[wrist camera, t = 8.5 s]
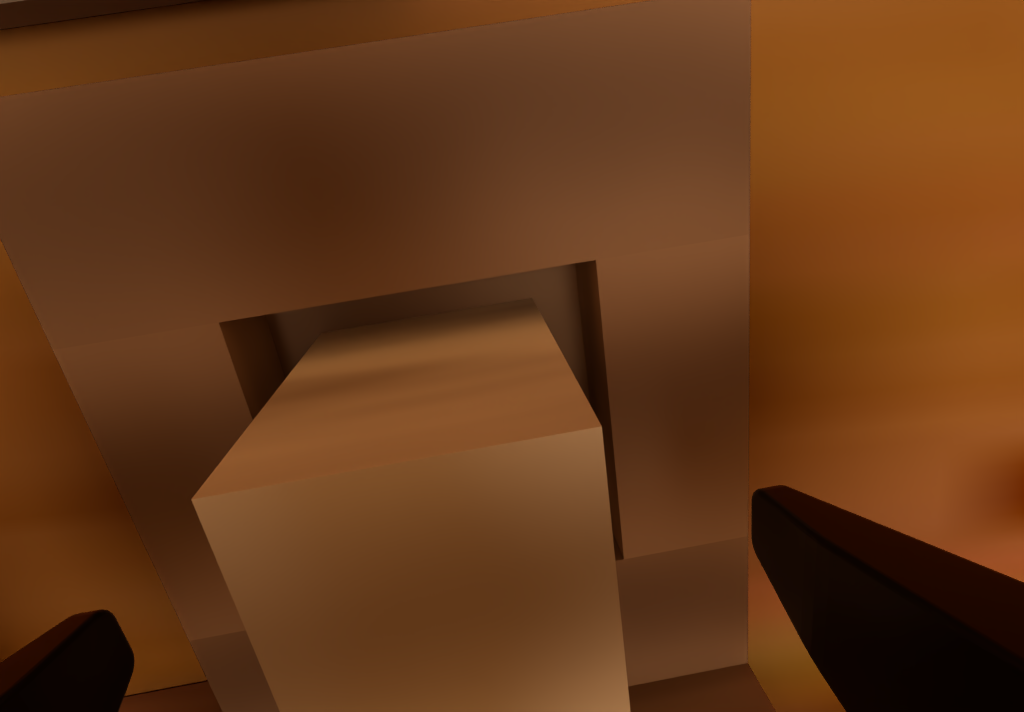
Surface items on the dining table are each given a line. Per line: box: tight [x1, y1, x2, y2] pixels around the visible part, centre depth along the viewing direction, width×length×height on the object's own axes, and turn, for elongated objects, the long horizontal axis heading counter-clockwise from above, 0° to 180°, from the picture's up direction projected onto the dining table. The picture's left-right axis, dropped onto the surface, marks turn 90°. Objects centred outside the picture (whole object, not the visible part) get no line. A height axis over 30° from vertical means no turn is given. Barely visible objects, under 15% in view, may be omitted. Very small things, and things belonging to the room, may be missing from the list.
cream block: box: [191, 298, 631, 712], centre depth 10 cm, size 4×4×6 cm
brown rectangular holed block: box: [0, 0, 776, 712], centre depth 9 cm, size 16×25×9 cm, turn 98°
